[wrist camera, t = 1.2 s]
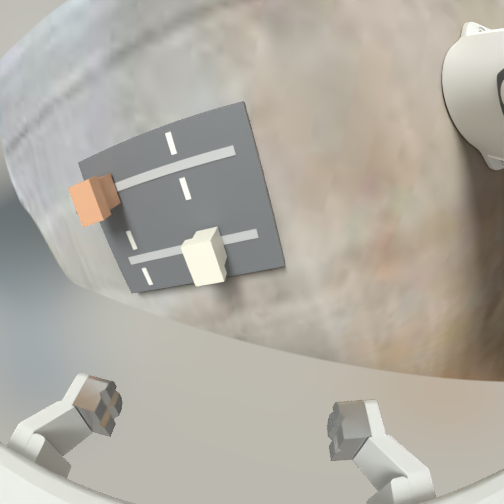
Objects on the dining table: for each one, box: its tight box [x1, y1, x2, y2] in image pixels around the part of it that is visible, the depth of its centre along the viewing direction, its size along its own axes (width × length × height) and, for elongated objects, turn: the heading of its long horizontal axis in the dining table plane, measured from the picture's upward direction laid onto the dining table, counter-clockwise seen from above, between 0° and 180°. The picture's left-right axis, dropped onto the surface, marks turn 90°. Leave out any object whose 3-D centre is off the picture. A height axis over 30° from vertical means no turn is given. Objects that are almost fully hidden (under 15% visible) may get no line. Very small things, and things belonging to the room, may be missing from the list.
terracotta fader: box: [68, 173, 121, 227], centre depth 28 cm, size 3×4×5 cm
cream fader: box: [181, 227, 227, 286], centre depth 30 cm, size 3×4×5 cm
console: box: [78, 101, 285, 293], centre depth 32 cm, size 20×18×2 cm
